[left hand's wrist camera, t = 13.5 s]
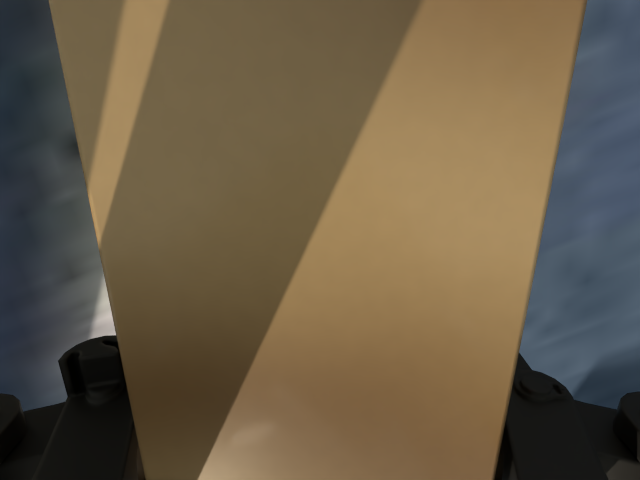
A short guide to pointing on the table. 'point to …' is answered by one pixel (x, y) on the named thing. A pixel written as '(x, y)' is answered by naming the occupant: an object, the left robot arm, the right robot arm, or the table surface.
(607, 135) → the table surface
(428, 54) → the ash beam
